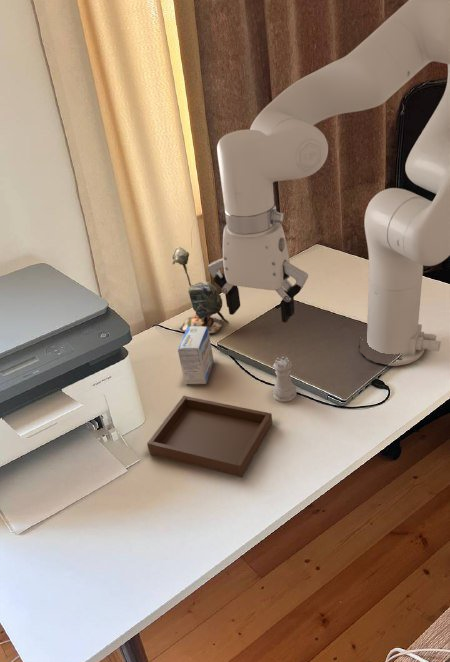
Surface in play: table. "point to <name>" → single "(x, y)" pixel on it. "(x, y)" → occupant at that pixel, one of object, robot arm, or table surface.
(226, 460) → the tray
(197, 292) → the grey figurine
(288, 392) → the rook chess piece
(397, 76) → the robot arm
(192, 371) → the medicine box
